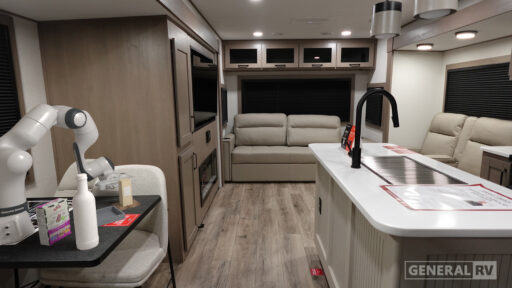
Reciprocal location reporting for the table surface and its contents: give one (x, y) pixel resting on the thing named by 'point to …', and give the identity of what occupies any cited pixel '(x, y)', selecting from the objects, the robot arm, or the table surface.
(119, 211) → the parts bin
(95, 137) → the robot arm
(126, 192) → the parts box
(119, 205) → the walnut board
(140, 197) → the table surface
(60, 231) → the candy bar box
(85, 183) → the bottle
